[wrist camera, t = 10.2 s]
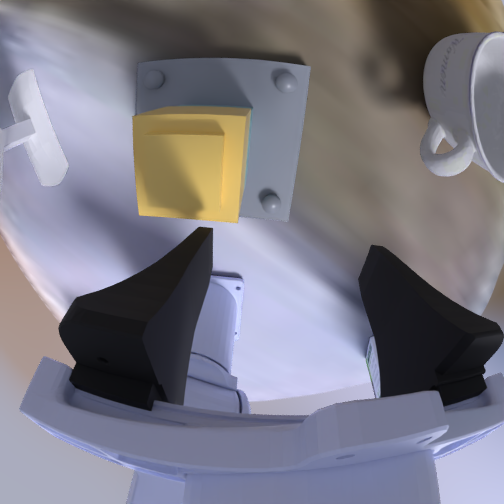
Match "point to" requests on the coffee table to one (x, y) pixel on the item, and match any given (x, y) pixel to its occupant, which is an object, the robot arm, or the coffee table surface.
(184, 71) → the base plate
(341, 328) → the coffee table surface
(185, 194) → the ochre brick
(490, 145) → the teacup
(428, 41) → the coffee table surface
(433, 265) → the coffee table surface
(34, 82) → the heart sculpture
